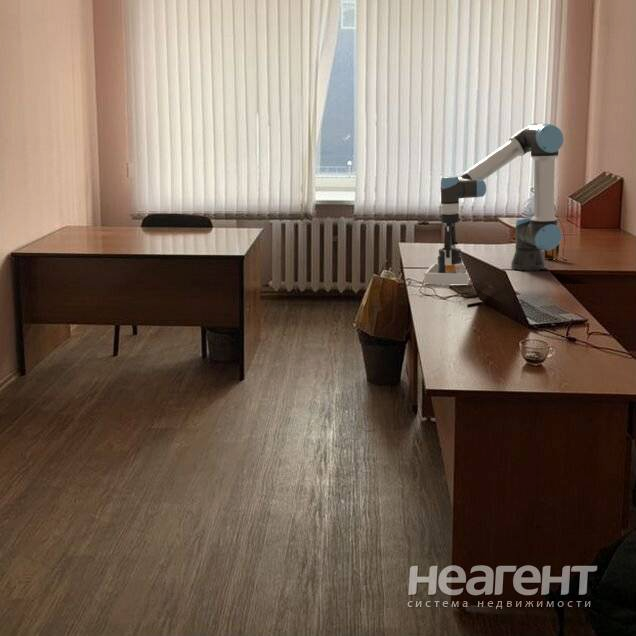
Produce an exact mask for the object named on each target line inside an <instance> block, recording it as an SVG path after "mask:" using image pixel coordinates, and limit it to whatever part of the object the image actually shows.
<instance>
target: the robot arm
mask: <svg viewBox="0 0 636 636" xmlns="http://www.w3.org/2000/svg"><path fill="white" fill-rule="evenodd" d="M508 139H509V140H508V141H507V142H506V143H505V144H503V145H501V146H500V147H499V148H497V149H496V150H495V151H493V152H492V153H490V154H489V155H488V156H486V157H484V159H482V160H480V161H479V162H477V163H476V164H475V165H473V166H472V167H470V168H469V169H467V170H466V171H465V172H463V173H461V175H459V176H456V175H451V176H450V175H449V176H448V175H447V176H443V177H441V180H440V187H439V188H440V205H439V208H440V210H441V211H440V212H441V215H440V222H441V223H443V224H446V226H444V243H443V244H444V245H443V250H445V265H452V263H451V248H457V245H458V241H457V234H456V224H458V223H459V222H460V214H459V212H460V199H470V198H482V197H484V196H485V195H486V192H487V184H486V182H485V180H486V179H487V178H488V177H490V176H491V175H493V174H494V173H496V172H498V171H499V170H500V169H501V168H503V167H505V166H506V165H507V164H509V163H511V162H512V161H513V160H514V159H516V158H518V157H522V156H524V155H526V154H527V153H530V157H531V158H532V159H533V160H534V161H533V162H534V163H533V164H534V166H533V169H534V172H533V179H534V180H533V181H534V182H533V215H532V217H526V218H525V217H524V218H517V219H516V221H515V251H514V254H513V258H512V260H511V264H510V265H511V268H510V269H512V268H513V269H512V270H515V269H517V270H516V271H522V270H525V272H527V271H528V272H532V271H533V272H534V271H535V270H536V271H541V270H540V269H543V268H545V269H546V262H545V261H546V260H545V259H544V258H543V250H552V249H554V248H556V247H557V246H558V245H559V246H560V243H561V241H562V239H563V238H562V237H563V236H562V234H563V233H562V230H561V229H560V227H559V226H558V220H557V219H558V218H557V217H556V215H555V170H556V169H555V168H556V167H555V166H556V165H555V163H556V162H555V161H556V159H557V158H558V157H559V150H560V149H561V147H562V146H563V143H564V135H563V132H562V131H561V129H560V128H559V127H558V126H556V125H553V124H551V123H532V124H529V125H527V126H525V127H524V128H522V129H520V130H519V131H518V132H516V133H514V134H513V135H512V136H511V137H509V138H508ZM543 270H544V269H543Z"/></svg>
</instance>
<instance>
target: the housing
mask: <svg viewBox="0 0 636 636" xmlns="http://www.w3.org/2000/svg"><path fill="white" fill-rule="evenodd" d="M423 276H424V277H423V278H424V283H428V284H444V285H443V286H450V285H449V284H468V283H469V284H470V282H469V276H468V273H467V272H466V270H465V267H464V265H463V263H462V274H460V273H438V263H433V264H431V266H429V268H427V270H426V271H425V272H424V275H423ZM469 284H468V285H469Z"/></svg>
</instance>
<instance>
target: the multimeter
mask: <svg viewBox="0 0 636 636" xmlns="http://www.w3.org/2000/svg"><path fill="white" fill-rule="evenodd" d="M557 221H559V222H560V224H561V227H562V231H563V233H565V231H564V227H563V223H562V222H561V221H560V219H559V218H557ZM563 238H564V239H563V245H565V240H566V238H565V235H563ZM559 251H560V244H559V245H558V246H557V247H556V248H554V249H552V250H542V254H543V258H544V260H548V259H555V261H557V260H556V259H558V260H559V259H560V258H559V257H560V256H559V255H560V254H559V253H560V252H559ZM564 251H565V248H563V249H562V255H564V254H565V253H564ZM562 260H563V261H564V260H565V259H564V258H562Z"/></svg>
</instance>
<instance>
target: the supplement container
mask: <svg viewBox="0 0 636 636" xmlns="http://www.w3.org/2000/svg"><path fill="white" fill-rule="evenodd" d="M443 248H444V247H443ZM443 248H440V249H438V255H437V264H438V273H460V274H462V264H463V258H462V259H461V257H460V255H461V254H459V251H461V252H462V249H461V248H458V247H456V248H451V263H452V265H445V250H443Z"/></svg>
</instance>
